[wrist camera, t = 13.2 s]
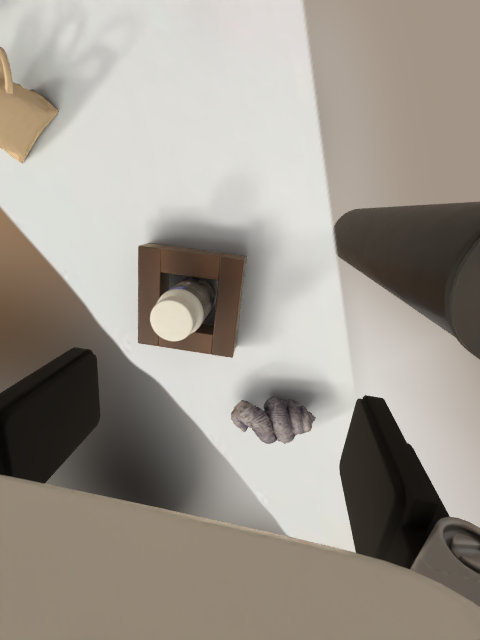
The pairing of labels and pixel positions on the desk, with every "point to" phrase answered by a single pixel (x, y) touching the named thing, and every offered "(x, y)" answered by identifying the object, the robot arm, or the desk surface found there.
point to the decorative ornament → (20, 114)
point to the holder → (195, 263)
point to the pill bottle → (182, 309)
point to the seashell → (273, 419)
